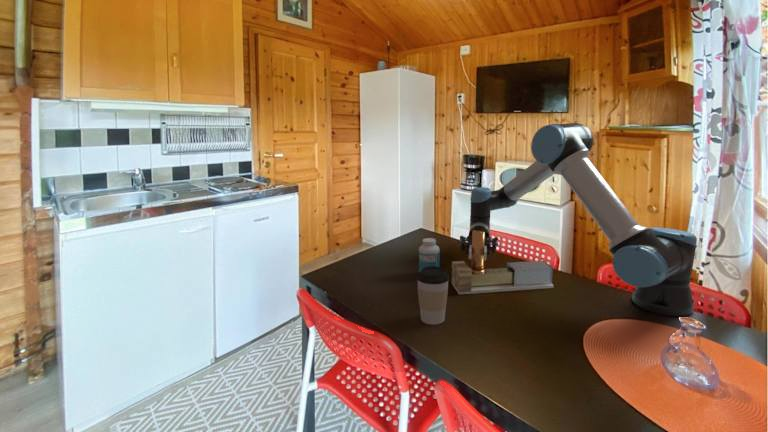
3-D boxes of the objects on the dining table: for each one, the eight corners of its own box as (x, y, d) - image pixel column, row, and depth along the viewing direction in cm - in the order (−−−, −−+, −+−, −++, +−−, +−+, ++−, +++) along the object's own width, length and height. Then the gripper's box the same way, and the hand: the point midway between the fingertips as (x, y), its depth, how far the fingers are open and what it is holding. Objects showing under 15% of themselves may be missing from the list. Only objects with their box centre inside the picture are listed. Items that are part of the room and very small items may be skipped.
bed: (553, 287, 136) (553, 285, 135) (459, 294, 133) (459, 291, 132) (540, 277, 144) (540, 274, 144) (451, 283, 141) (451, 280, 141)
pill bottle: (428, 270, 154) (428, 235, 151) (443, 275, 148) (444, 239, 145) (414, 275, 149) (414, 239, 146) (429, 281, 144) (429, 244, 141)
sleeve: (551, 286, 137) (553, 267, 135) (514, 289, 136) (515, 269, 134) (542, 278, 143) (543, 260, 142) (506, 281, 142) (507, 262, 140)
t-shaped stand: (520, 283, 136) (523, 231, 132) (461, 287, 134) (462, 234, 130) (514, 277, 141) (517, 227, 137) (457, 281, 139) (458, 230, 135)
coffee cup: (412, 323, 115) (412, 273, 111) (421, 309, 123) (421, 262, 119) (444, 328, 112) (445, 277, 108) (451, 313, 120) (452, 265, 116)
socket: (471, 291, 133) (471, 270, 131) (459, 292, 132) (459, 271, 131) (463, 280, 141) (463, 260, 140) (451, 281, 141) (452, 261, 139)
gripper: (502, 245, 150) (505, 268, 128) (455, 243, 154) (450, 265, 132) (503, 226, 149) (506, 245, 127) (456, 224, 153) (450, 243, 131)
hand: (477, 255), depth 130 cm, fingers closed on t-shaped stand, 4 cm apart
